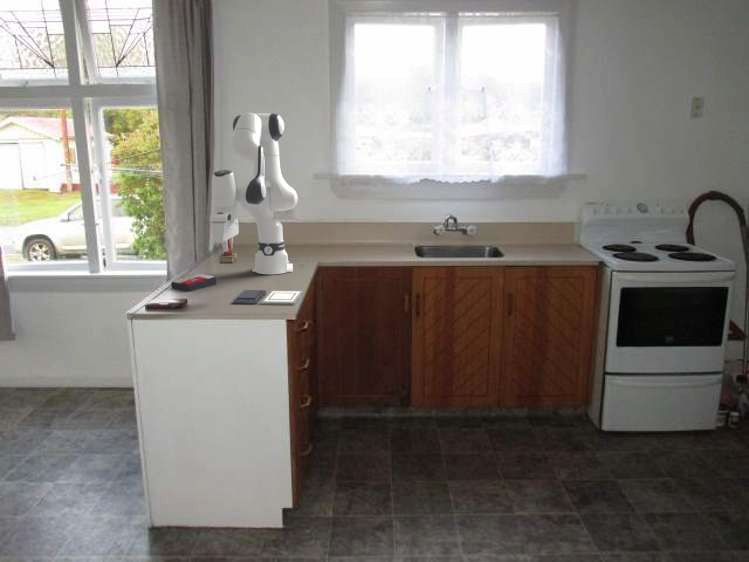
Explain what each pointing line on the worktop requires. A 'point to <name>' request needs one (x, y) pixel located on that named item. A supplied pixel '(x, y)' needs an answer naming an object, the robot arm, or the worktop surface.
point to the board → (281, 298)
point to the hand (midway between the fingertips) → (227, 250)
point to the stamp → (228, 255)
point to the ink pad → (249, 297)
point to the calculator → (193, 282)
